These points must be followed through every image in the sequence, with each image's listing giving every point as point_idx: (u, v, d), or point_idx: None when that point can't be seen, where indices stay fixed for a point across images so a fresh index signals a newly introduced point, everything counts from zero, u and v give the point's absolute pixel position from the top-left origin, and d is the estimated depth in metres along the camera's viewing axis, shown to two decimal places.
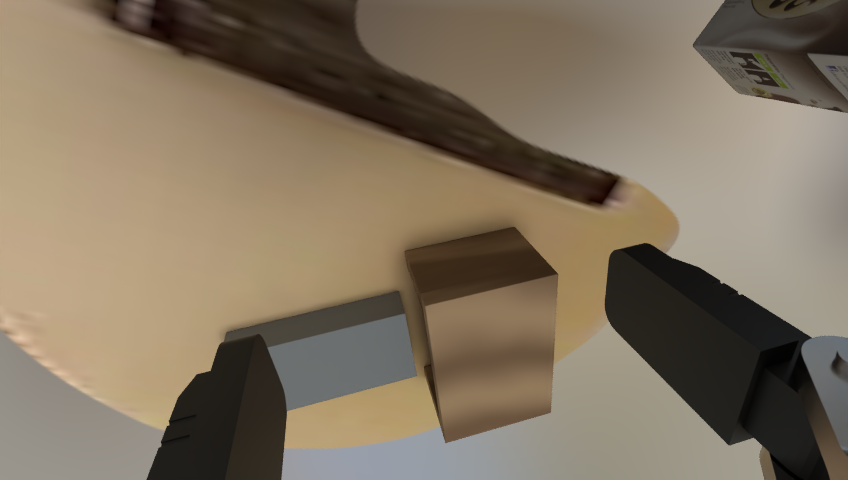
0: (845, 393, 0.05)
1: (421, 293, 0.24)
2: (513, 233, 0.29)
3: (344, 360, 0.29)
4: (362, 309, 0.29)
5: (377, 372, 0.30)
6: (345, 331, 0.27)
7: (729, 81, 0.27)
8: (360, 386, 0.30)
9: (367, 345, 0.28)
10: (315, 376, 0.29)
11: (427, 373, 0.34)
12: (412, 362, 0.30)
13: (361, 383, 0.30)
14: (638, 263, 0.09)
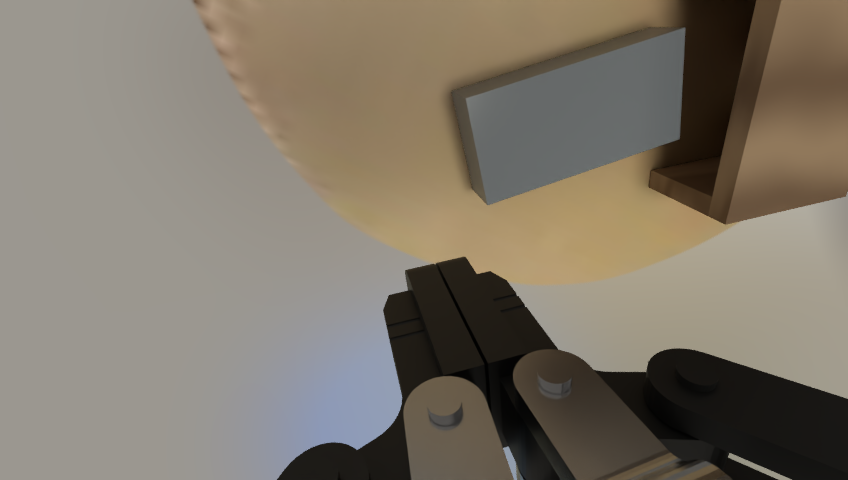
0: (525, 404, 0.06)
1: None
2: None
3: (604, 108, 0.22)
4: (617, 41, 0.23)
5: (637, 130, 0.23)
6: (613, 55, 0.21)
7: None
8: (614, 153, 0.24)
9: (633, 82, 0.22)
10: (568, 134, 0.23)
11: (660, 173, 0.27)
12: (678, 115, 0.24)
13: (616, 148, 0.24)
14: (443, 277, 0.09)
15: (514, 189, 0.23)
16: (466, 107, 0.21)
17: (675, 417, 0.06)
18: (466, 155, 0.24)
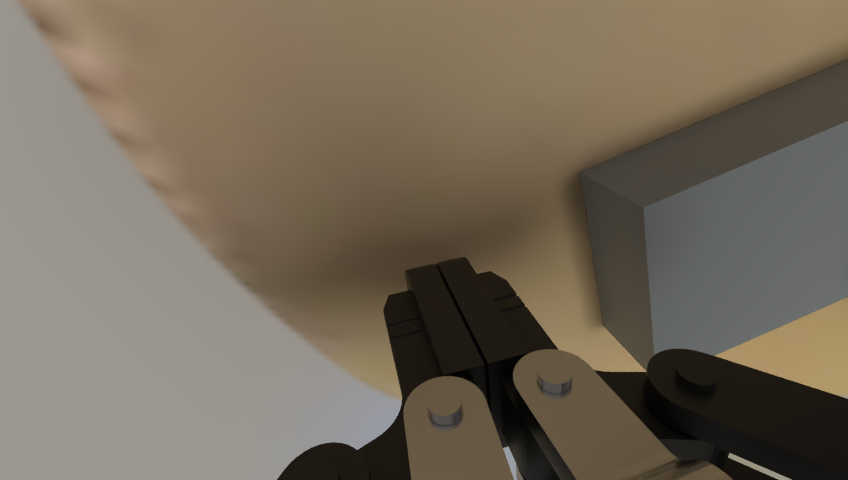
0: (526, 403, 0.06)
1: None
2: None
3: None
4: None
5: None
6: None
7: None
8: None
9: None
10: (827, 244, 0.11)
11: None
12: None
13: None
14: (444, 276, 0.09)
15: (708, 349, 0.12)
16: (636, 220, 0.10)
17: (675, 417, 0.06)
18: (601, 279, 0.13)
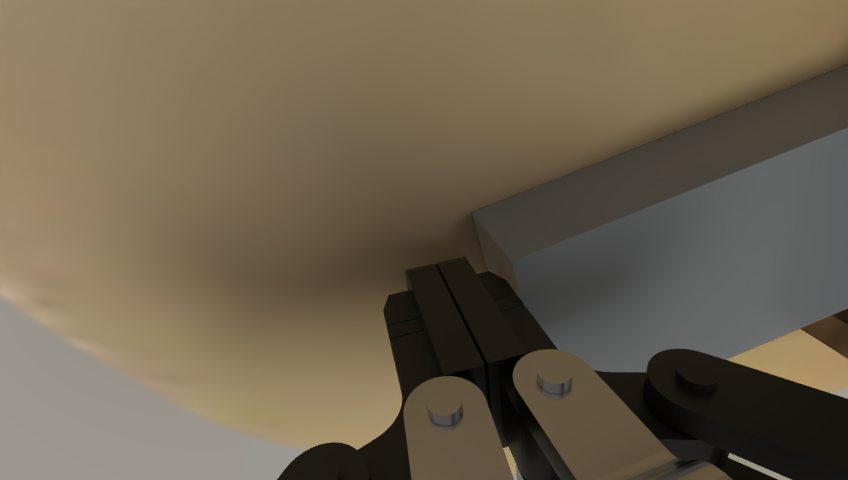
0: (525, 404, 0.06)
1: None
2: None
3: (802, 240, 0.10)
4: (825, 97, 0.11)
5: None
6: (843, 138, 0.09)
7: None
8: (806, 314, 0.12)
9: None
10: (724, 296, 0.11)
11: None
12: None
13: (812, 306, 0.12)
14: (443, 276, 0.09)
15: None
16: (510, 272, 0.09)
17: (675, 417, 0.06)
18: None
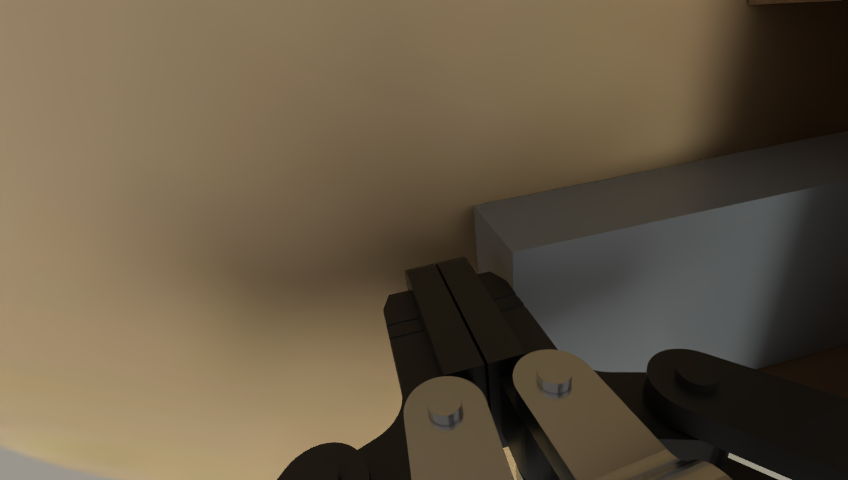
0: (525, 404, 0.06)
1: None
2: None
3: (774, 284, 0.11)
4: (809, 156, 0.11)
5: (813, 322, 0.12)
6: (825, 193, 0.10)
7: None
8: (763, 357, 0.13)
9: (840, 243, 0.11)
10: (696, 325, 0.11)
11: None
12: None
13: (769, 349, 0.12)
14: (443, 277, 0.09)
15: None
16: (507, 265, 0.09)
17: (674, 417, 0.06)
18: None
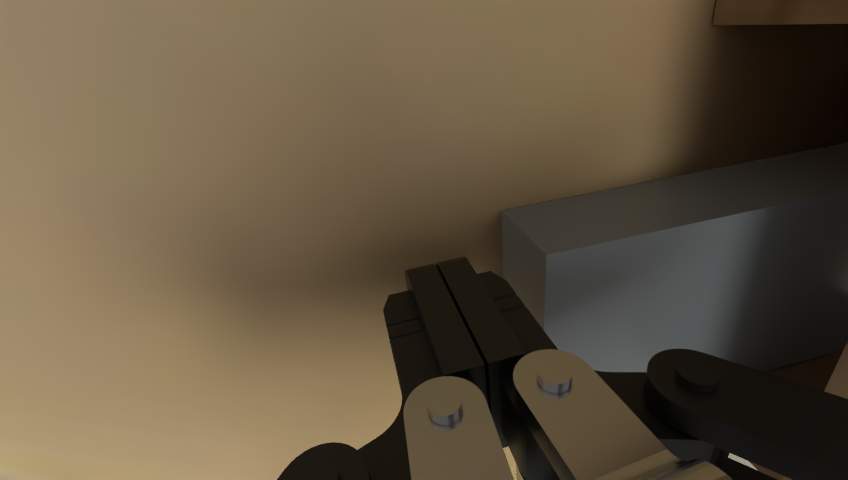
0: (525, 404, 0.06)
1: None
2: None
3: (790, 287, 0.11)
4: (824, 163, 0.12)
5: (826, 324, 0.13)
6: (842, 199, 0.10)
7: None
8: (778, 358, 0.13)
9: None
10: (716, 327, 0.12)
11: None
12: None
13: (783, 350, 0.13)
14: (443, 276, 0.09)
15: None
16: (540, 267, 0.10)
17: (675, 417, 0.06)
18: None
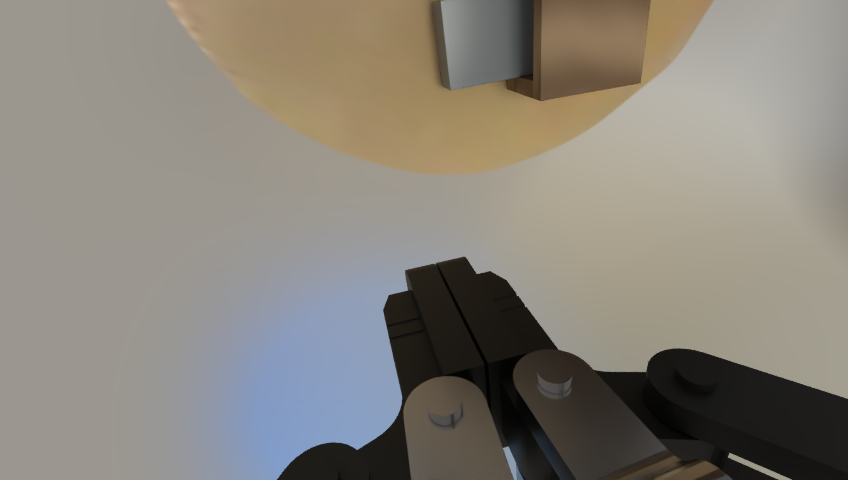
0: (525, 403, 0.06)
1: None
2: None
3: None
4: None
5: None
6: None
7: None
8: None
9: None
10: (512, 43, 0.31)
11: None
12: None
13: None
14: (443, 276, 0.09)
15: (471, 81, 0.32)
16: (440, 9, 0.30)
17: (675, 417, 0.06)
18: (439, 55, 0.33)
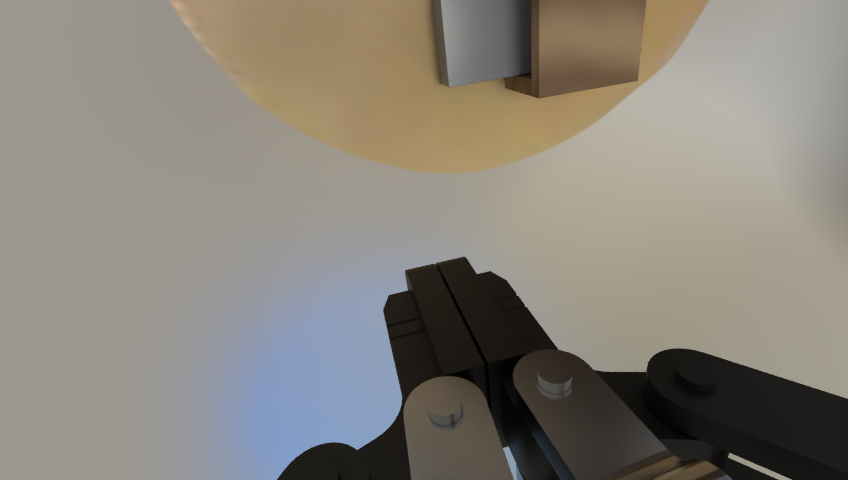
0: (526, 404, 0.06)
1: None
2: None
3: None
4: None
5: None
6: None
7: None
8: None
9: None
10: (511, 41, 0.32)
11: None
12: None
13: None
14: (444, 276, 0.09)
15: (470, 78, 0.32)
16: (440, 6, 0.30)
17: (675, 417, 0.06)
18: (438, 52, 0.33)
